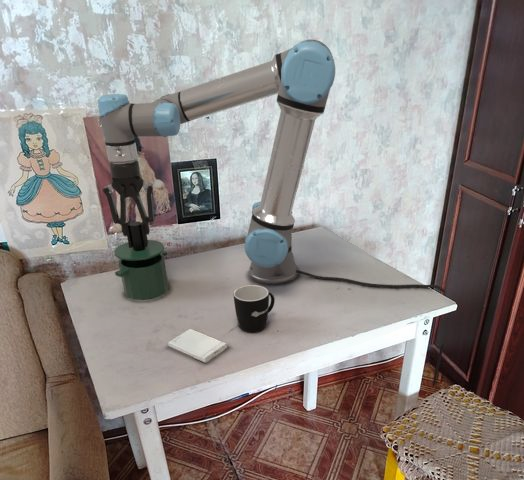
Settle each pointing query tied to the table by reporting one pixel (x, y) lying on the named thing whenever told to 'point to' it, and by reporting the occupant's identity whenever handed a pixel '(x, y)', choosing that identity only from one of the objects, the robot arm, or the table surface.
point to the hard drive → (198, 345)
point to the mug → (252, 307)
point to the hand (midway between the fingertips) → (138, 245)
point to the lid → (138, 246)
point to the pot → (144, 277)
